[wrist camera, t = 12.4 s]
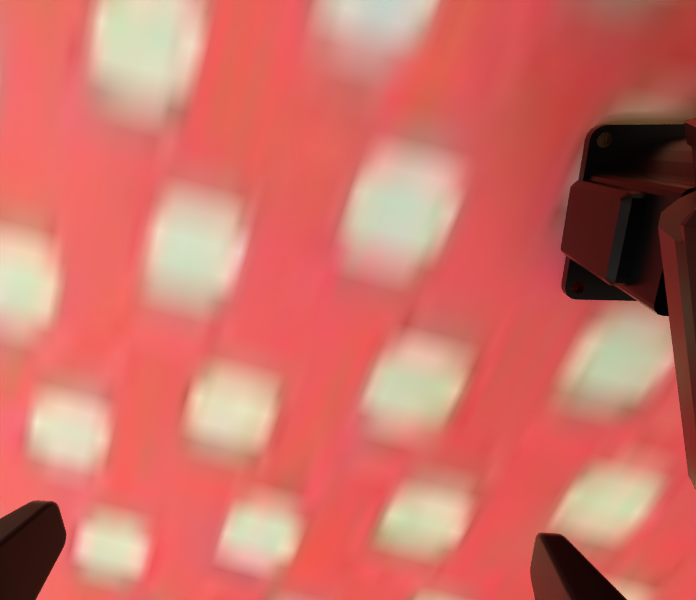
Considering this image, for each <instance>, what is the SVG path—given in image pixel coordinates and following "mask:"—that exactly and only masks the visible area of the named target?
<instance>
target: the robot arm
mask: <svg viewBox="0 0 696 600" xmlns="http://www.w3.org/2000/svg"><path fill="white" fill-rule="evenodd" d="M601 133H604V134H605V135H606V136H607V141H606V143H605V144H604V145H603V146H602V147H599V146H598V145H597V138H598V136H599V135H600V134H601ZM561 251H562V252H563V253H564V254H565V255H566V260H565V266H564V272H563V278H562V290H563V292H564V293H565V294H566V295H567V296H569V297H570V298H572V299H582V300H625V301H639V302H640V303H642V304H643V305H645V306H646V307H648V308H649V309H651V310H652V311H654V312H655V313H657V314H659V315H662V316H669V320H670V328H671V336H672V344H673V353H674V361H675V369H676V377H677V385H678V394H679V402H680V410H681V418H682V426H683V435H684V443H685V451H686V459H687V467H688V475H689V477H690V479H691V481H692V483H693V485H694V487H695V489H696V117H695V118H692V119H689V120H687V121H685V124H661V125H601V126H596V127H594V128H593V129H591V130H590V131H589V133H588V134H587V136H586V139H585V143H584V149H583V156H582V162H581V168H580V174H579V180H578V181H576V182H575V183H574V184H573V185H572V186H571V188H570V194H569V200H568V207H567V213H566V219H565V226H564V232H563V238H562V245H561ZM578 281H580V282H581V286H580V288H578V289H577V290H572V288H571V287H572V285H573V284H574V283H575V282H578ZM65 541H66V530H65V527H64V523H63V520H62V516H61V513H60V509H59V506H58V505H57V504H56V503H55V502H53V501H40V500H36V501H32V502H30V503H28V504H26V505H24V506H22V507H20V508H19V509H17V510H15V511H13V512H11V513H10V514H8V515H6V516H4V517H2V518H1V519H0V600H36V598H37V596H38V594H39V593H40V591H41V589H42V587H43V585H44V583H45V581H46V579H47V577H48V576H49V574H50V572H51V570H52V568H53V566H54V564H55V562H56V560H57V559H58V557H59V555H60V553H61V551H62V549H63V547H64V544H65ZM530 573H531V582H532V587H533V591H534V596H535V600H627V599H626V598H625V597H624V596H623V595H622V594H621V593H620V592H619V591H618V590H617V589H616V588H615V587H614V586H613V585H612V584H611V583H610V582H609V581H608V580H607V579H606V578H605V577H604V576H603V575H602V574H601V573H600V572H599V571H598V570H597V569H596V568H595V567H594V566H593V565H592V564H591V563H590V562H589V561H588V560H587V559H586V558H585V557H584V556H583V555H582V554H581V553H580V552H579V551H578V550H577V549H576V548H575V547H574V546H573V545H572V544H571V543H570V542H569V541H568V540H567V538H565V537H564V536H563V535H561V534H555V533H539V534H537V536H536V539H535V544H534V549H533V555H532V561H531V567H530Z"/></svg>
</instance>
